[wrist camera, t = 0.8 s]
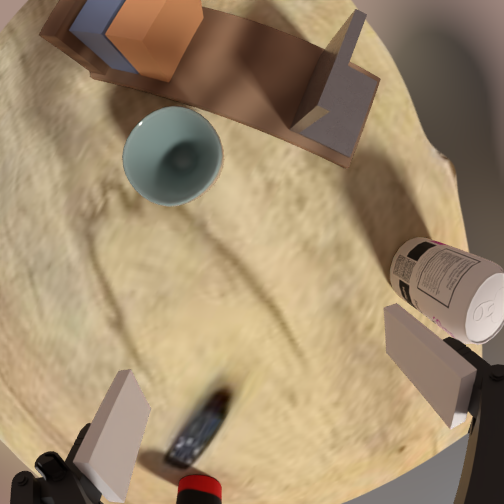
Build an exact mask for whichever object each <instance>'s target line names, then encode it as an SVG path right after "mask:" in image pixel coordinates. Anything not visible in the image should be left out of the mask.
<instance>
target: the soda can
mask: <svg viewBox="0 0 504 504" xmlns="http://www.w3.org/2000/svg"><path fill="white" fill-rule="evenodd" d="M176 504H222V487H221V485H220V483H219V482H218V481H216V480H215V479H213V478H211V477H208V476H204V475H189V476H186V477H184V478H182V479H181V480H180V481H179V486H178V494H177V502H176Z"/></svg>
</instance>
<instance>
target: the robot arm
mask: <svg viewBox="0 0 504 504" xmlns="http://www.w3.org/2000/svg"><path fill="white" fill-rule="evenodd" d="M384 320H385V336H386V353H387V354H388V355H389V356H390V357H391V358H392V360H393V361H394V362H395V363H396V364H397V365H398V367H399V368H400V369H401V370H402V371H403V373H404V374H405V375H406V376H407V377H408V378H409V380H410V381H411V382H412V383H413V384H414V386H415V387H416V388H417V389H418V390H419V392H420V393H421V394H422V395H423V396H424V398H425V399H426V400H427V401H428V403H429V404H430V405H431V406H432V407H433V409H434V410H435V411H436V412H437V414H438V415H439V416H440V417H441V418H442V420H443V421H444V422H445V423H446V425H447V426H448V427H449V428H450V429H452V428H454V427H456V426H457V425H459V424H461V423H463V422H464V421H465V420H466V416H467V412H468V411H469V413H470V414H471V415H472V416H473V418H472V421H471V424H470V428H469V431H468V433H470V434H469V440H468V446H467V451H466V456H465V461H464V466H463V470H462V474H461V478H460V482H459V486H458V490H457V493H456V497H455V500H454V504H504V365H499V364H497V365H492V366H491V365H490V364H488V363H487V362H486V361H485V360H483V359H482V358H481V357H480V356H479V355H477V354H476V353H475V352H473V351H471V349H470V348H468V347H466V345H465V344H463V343H462V342H461V341H460V340H457V339H454V338H451V337H448V338H445V339H443V340H442V339H440V338H439V337H438V336H437V335H436V334H434V333H433V332H432V331H431V330H429V329H428V328H427V327H426V326H424V325H423V324H422V323H421V322H420V321H418V320H417V319H416V318H415V317H413V316H412V315H411V314H410V313H408V312H407V311H406V310H405V309H403V308H402V307H401V306H399V305H398V304H397V303H396V304H393V305H390V306H387V307H384ZM150 411H151V407H150V405H149V403H148V402H147V400H146V398H145V396H144V394H143V392H142V390H141V388H140V386H139V384H138V382H137V380H136V378H135V376H134V374H133V372H132V370H131V369H128V370H121V371H118V373H117V375H116V377H115V379H114V380H113V382H112V384H111V386H110V388H109V390H108V392H107V394H106V396H105V398H104V399H103V401H102V403H101V405H100V407H99V409H98V411H97V413H96V415H95V417H94V419H93V421H92V423H87V424H86V425H85V426H84V427H83V428H82V429H81V431H80V433H79V435H78V436H77V439H76V440H75V442H74V445H73V446H72V448H71V450H70V452H69V454H68V456H67V458H66V460H65V462H64V461H63V459H62V458H61V457H60V456H59V455H58V453H56V452H54V451H49V452H46V453H43V454H42V455H40V456H39V457H38V459H37V460H36V462H35V469H36V470H37V471H38V472H39V473H40V474H41V475H42V476H43V477H41V478H35V477H34V476H33V474H32V473H31V472H29V471H22V472H19V473H18V474H16V475H15V477H14V478H13V480H12V485H11V486H12V487H11V499H10V504H103V503H102V502H101V501H100V498H101V495H103V496H104V497H105V498H106V499H107V500H108V501H110V502H122V503H124V502H125V498H126V494H127V491H128V487H129V483H130V480H131V476H132V472H133V469H134V465H135V462H136V458H137V455H138V451H139V448H140V444H141V441H142V437H143V434H144V431H145V427H146V424H147V421H148V417H149V414H150Z"/></svg>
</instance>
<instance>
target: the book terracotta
mask: <svg viewBox="0 0 504 504" xmlns="http://www.w3.org/2000/svg"><path fill="white" fill-rule="evenodd" d="M203 18H204V17H203V11H202V5H201V0H126V1H125V2H124V4H123V6H122V7H121V9H120V10H119V12H118V13H117V15H116V17H115V18H114V20H113V22H112V23H111V25H110V27H109V28H108V30H107V32H106V34H105V35H106V36H107V37H108V39H109V40H110V41H111V42H112V43H113V44H114V45H115V46H116V47H117V49H118V50H119V51H120V52H121V53H122V54H123V55H124V56H125V58H126V59H127V60H128V61H129V62H130V63H131V64H132V66H133V67H134V68H135V69H136V70H137V71H138V72H139V74H140V75H142V76H146V77H150V78H154V79H157V80H161V81H165V82H168V83H169V82H170V80H171V78H172V76H173V74H174V72H175V70H176V68H177V66H178V64H179V62H180V60H181V58H182V56H183V54H184V52H185V50H186V48H187V47H188V45H189V43H190V41H191V39H192V37H193V36H194V34H195V32H196V30H197V28H198V27H199V25H200V23H201V21H202V20H203Z"/></svg>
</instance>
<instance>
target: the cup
mask: <svg viewBox="0 0 504 504" xmlns="http://www.w3.org/2000/svg"><path fill="white" fill-rule="evenodd" d="M122 158H123V167H124V171H125V174H126V176H127V178H128V180H129V182H130V184H131V185H132V186H133V187H134V189H135V190H136V191H137V192H138V193H139V194H140V195H142V196H143V197H144V198H146V199H147V200H149V201H150V202H153V203H155V204H158V205H161V206H169V207H171V206H180V205H183V204H186V203H189V202H191V201H193V200H195V199H197V198H199V197H201V196H202V195H203V194H205V193H206V192H207V191H208V190H210V188H211V187H212V186H213V185H214V184H215V183H216V181H217V180H218V178H219V177H220V174H221V172H222V169H223V165H224V150H223V146H222V143H221V140H220V137H219V136H218V134H217V132H216V130H215V129H214V127H213V126H212V125H211V124H210V123H209V121H208V120H206V119H205V118H204V117H203V116H202V115H200V114H199V113H197V112H195V111H193V110H191V109H188V108H185V107H180V106H169V107H164V108H161V109H158V110H156V111H154V112H152V113H150V114H149V115H147V116H146V117H145V118H143V119H142V120H141V121H140V122H139V123H138V124H137V125H136V126H135V127H134V129H133V130H132V131H131V133H130V135H129V136H128V138H127V140H126V143H125V146H124V149H123V156H122Z"/></svg>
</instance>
